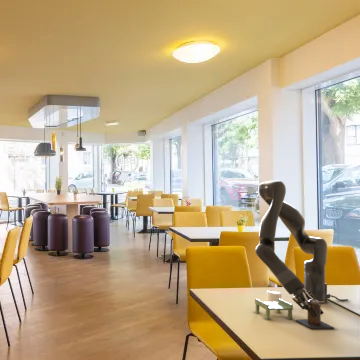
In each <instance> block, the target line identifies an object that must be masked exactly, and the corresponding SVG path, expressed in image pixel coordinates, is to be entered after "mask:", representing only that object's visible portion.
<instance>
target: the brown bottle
mask: <svg viewBox="0 0 360 360" xmlns="http://www.w3.org/2000/svg"><path fill="white" fill-rule="evenodd" d="M309 304H310V306H311V307H312V308H313V309H314V310H315V312H316V313H317V314H318V316H316V317H312V315H311V314H310V313H309V312H308V311H307V319H308V320H307V322H308V323H309V324H312V325H321V321H322V320H321V319H322V318H321V317H322V315H321V310H322V303H319V301H318V300H313V299H311V300H310V301H309Z"/></svg>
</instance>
